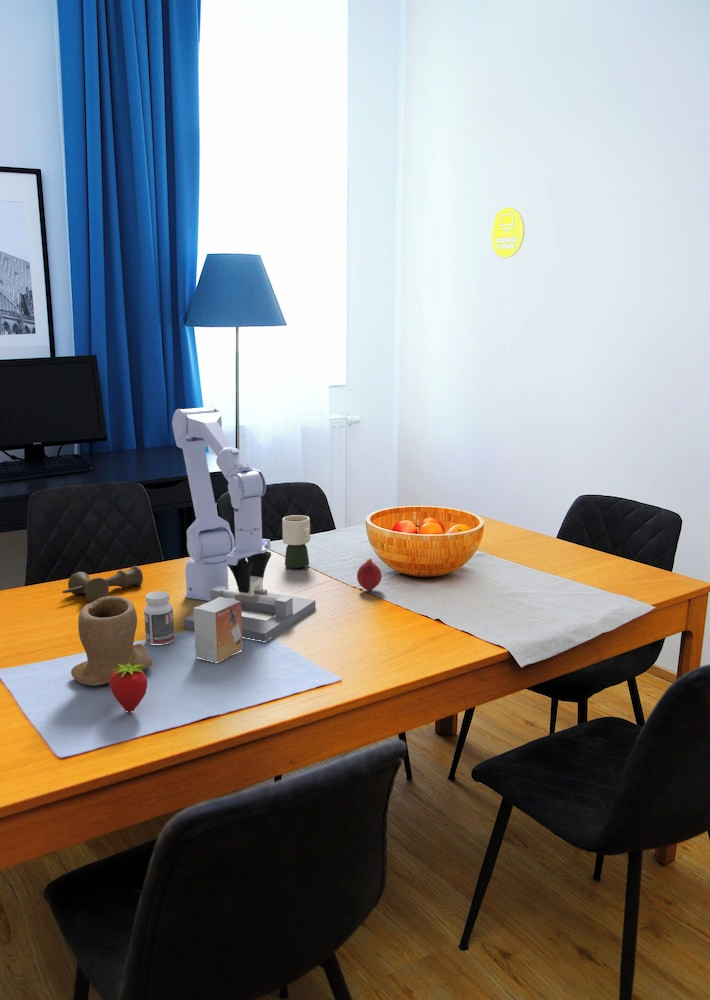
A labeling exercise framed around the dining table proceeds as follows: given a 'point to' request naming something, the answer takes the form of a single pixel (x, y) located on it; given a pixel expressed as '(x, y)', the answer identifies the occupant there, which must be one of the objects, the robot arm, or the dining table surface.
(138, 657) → the stone cup
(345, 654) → the dining table surface
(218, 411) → the robot arm
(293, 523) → the character mug
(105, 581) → the kendama
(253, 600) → the white notched u-block
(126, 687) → the strawberry
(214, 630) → the small box
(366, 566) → the onion
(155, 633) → the pill bottle
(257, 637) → the grey piece
